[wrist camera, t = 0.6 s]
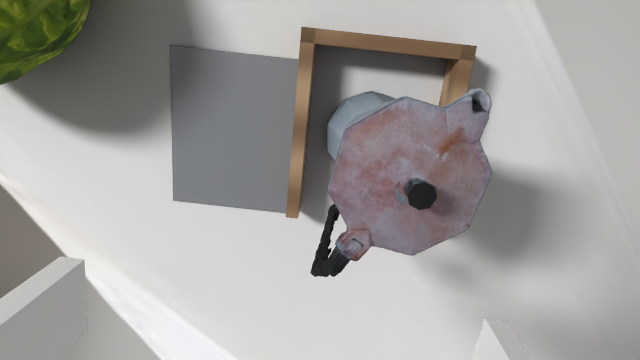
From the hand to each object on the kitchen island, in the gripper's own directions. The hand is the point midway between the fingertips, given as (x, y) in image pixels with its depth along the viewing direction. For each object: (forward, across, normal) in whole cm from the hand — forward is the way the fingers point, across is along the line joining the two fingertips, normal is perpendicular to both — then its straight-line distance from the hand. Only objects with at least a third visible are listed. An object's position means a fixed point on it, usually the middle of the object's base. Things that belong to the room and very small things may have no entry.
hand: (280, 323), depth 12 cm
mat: (+27, -9, 0) cm, 29 cm away
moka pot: (+28, +5, +2) cm, 28 cm away
